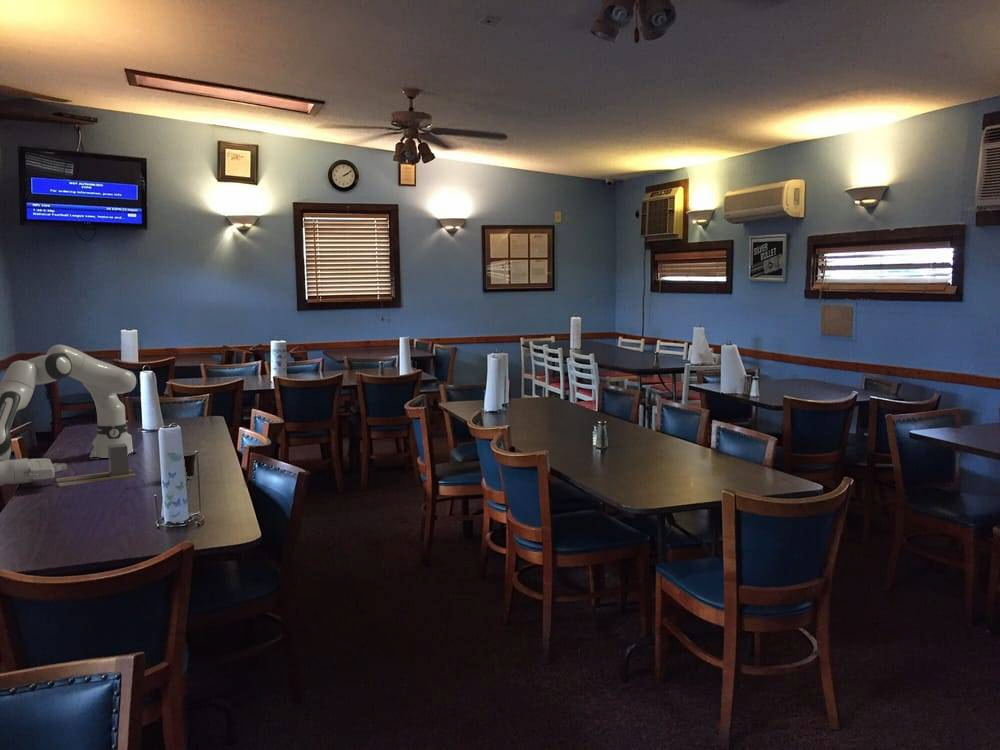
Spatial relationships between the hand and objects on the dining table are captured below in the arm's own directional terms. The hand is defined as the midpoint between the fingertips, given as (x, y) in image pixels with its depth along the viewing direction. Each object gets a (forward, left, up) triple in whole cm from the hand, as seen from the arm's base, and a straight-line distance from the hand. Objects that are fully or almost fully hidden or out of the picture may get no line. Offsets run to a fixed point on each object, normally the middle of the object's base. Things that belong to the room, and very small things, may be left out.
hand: (66, 466), depth 286 cm
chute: (0, +10, -7) cm, 12 cm away
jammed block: (0, +18, -6) cm, 19 cm away
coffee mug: (+12, +40, -8) cm, 42 cm away
